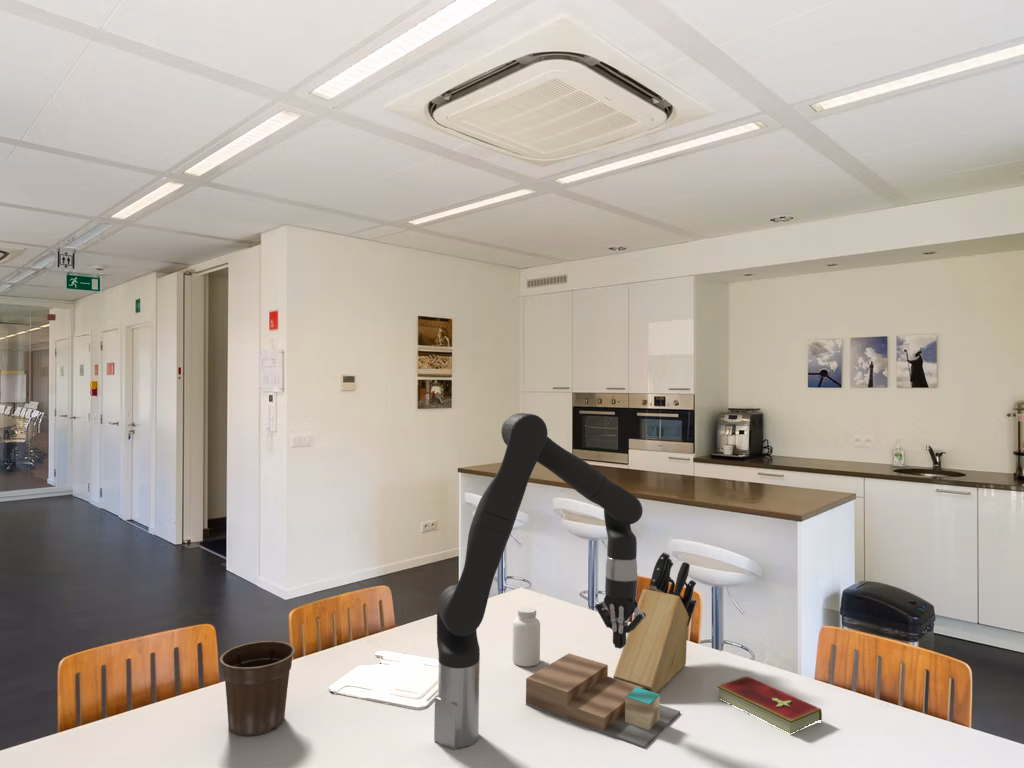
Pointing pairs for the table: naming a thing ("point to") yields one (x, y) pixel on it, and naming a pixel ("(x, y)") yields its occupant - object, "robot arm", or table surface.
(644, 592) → the knife block
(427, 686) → the tray
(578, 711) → the walnut staircase
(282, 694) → the plant pot
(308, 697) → the table surface
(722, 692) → the hardcover book
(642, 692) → the maple cube
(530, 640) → the pill bottle
